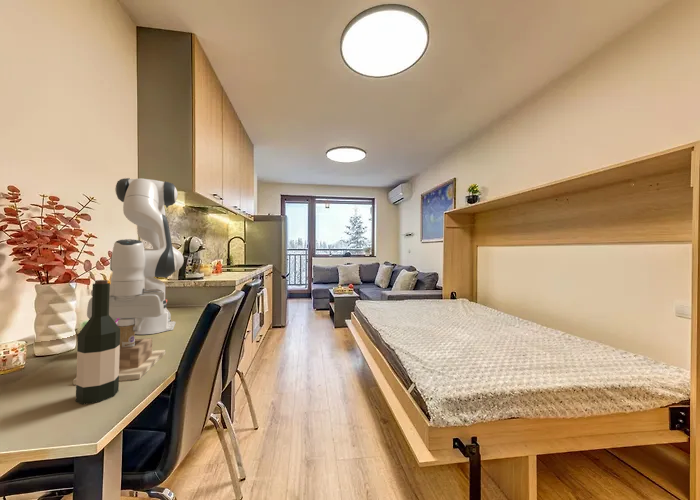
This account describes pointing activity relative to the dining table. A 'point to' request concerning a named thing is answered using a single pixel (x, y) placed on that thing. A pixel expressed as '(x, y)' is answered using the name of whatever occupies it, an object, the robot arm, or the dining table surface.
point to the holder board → (138, 370)
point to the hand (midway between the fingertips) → (126, 331)
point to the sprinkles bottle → (127, 332)
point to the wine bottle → (98, 351)
